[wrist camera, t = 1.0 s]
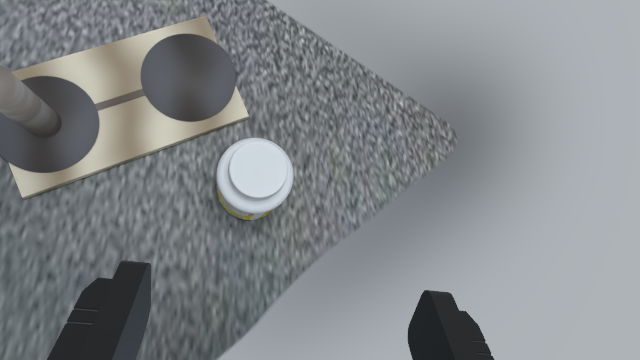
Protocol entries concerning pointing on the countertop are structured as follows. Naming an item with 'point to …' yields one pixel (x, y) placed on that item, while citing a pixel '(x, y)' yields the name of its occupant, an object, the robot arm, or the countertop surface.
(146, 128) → the peg stand
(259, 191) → the supplement bottle
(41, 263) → the countertop surface
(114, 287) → the robot arm
